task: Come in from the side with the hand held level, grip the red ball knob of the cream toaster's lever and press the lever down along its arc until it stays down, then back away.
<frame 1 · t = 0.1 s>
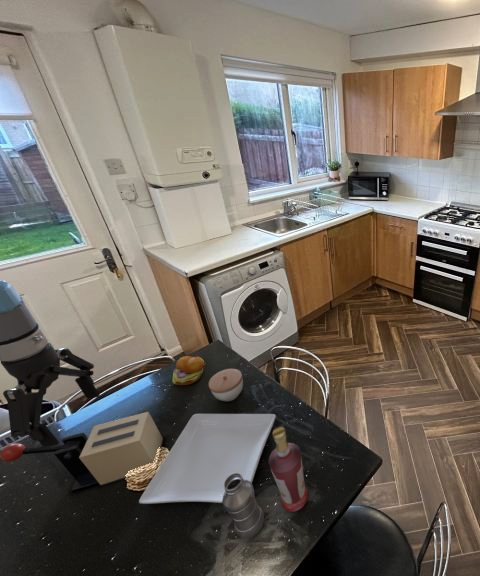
hand: (74, 418, 75), 25 cm above the table, tool pointing down, fingers open, 13 cm apart
lever bracket: (93, 473, 88), on the table
square plate: (218, 459, 92), on the table
cheeseburger: (190, 377, 121), on the table
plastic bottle: (251, 527, 77), on the table
toaster: (134, 460, 91), on the table
liquor: (295, 500, 82), on the table
trinket box: (230, 395, 113), on the table
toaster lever: (42, 449, 79), point 14 cm above the table, hinge at 20.0°
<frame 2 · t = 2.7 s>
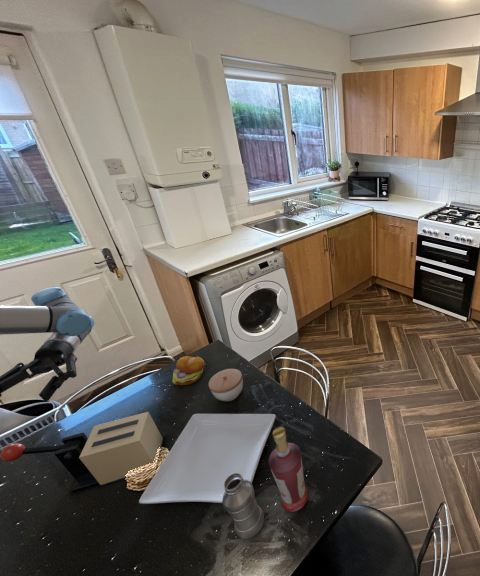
hand: (11, 405, 79), 24 cm above the table, tool horizontal, fingers open, 13 cm apart
nothing on the table moved.
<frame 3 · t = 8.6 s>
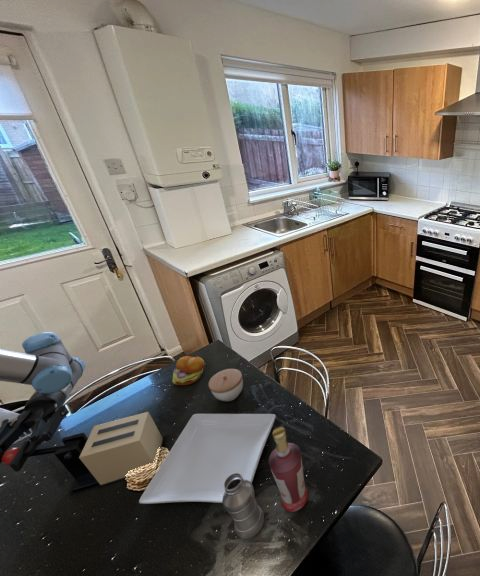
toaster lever: (42, 451, 80), point 13 cm above the table, hinge at 12.5°, touching gripper
everything else where it was.
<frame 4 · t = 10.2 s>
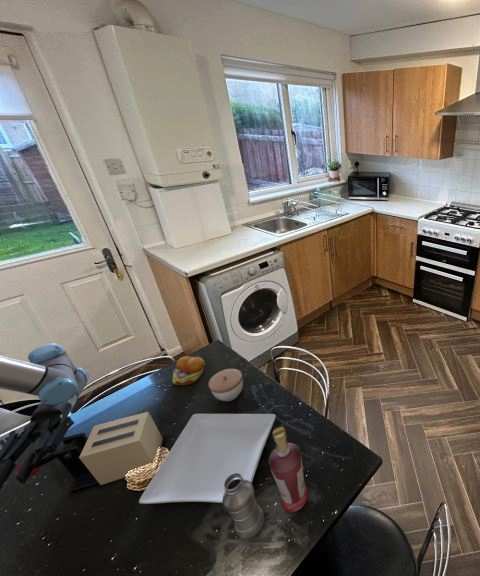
hand: (7, 483, 75), 11 cm above the table, tool horizontal, fingers open, 4 cm apart
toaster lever: (49, 458, 81), point 10 cm above the table, hinge at -18.2°
everything else where it was.
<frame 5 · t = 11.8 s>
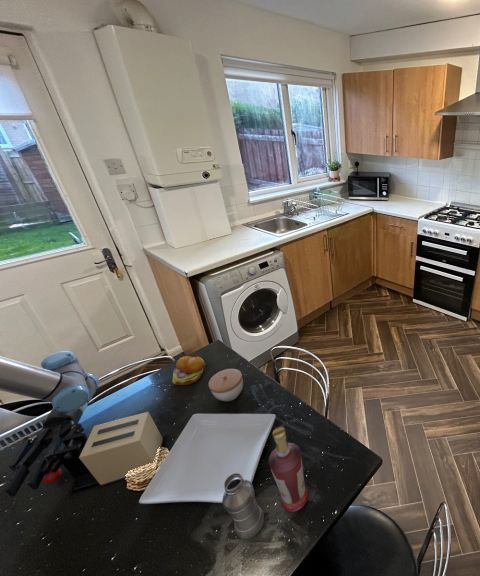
hand: (21, 489, 77), 8 cm above the table, tool horizontal, fingers open, 4 cm apart
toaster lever: (61, 461, 83), point 8 cm above the table, hinge at -45.6°, touching gripper
everything else where it was.
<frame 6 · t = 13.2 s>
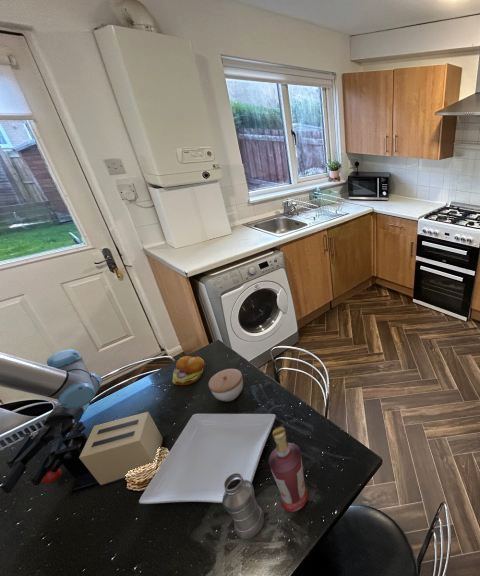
hand: (20, 485, 78), 8 cm above the table, tool horizontal, fingers open, 5 cm apart
nothing on the table moved.
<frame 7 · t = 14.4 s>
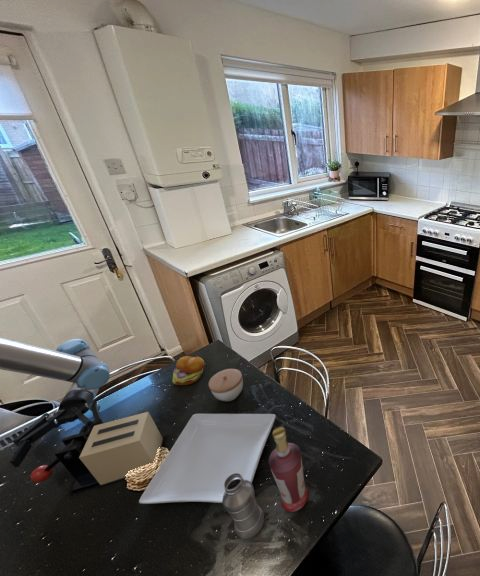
hand: (46, 455, 86), 7 cm above the table, tool horizontal, fingers open, 13 cm apart
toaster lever: (56, 461, 82), point 9 cm above the table, hinge at -35.4°
everything else where it was.
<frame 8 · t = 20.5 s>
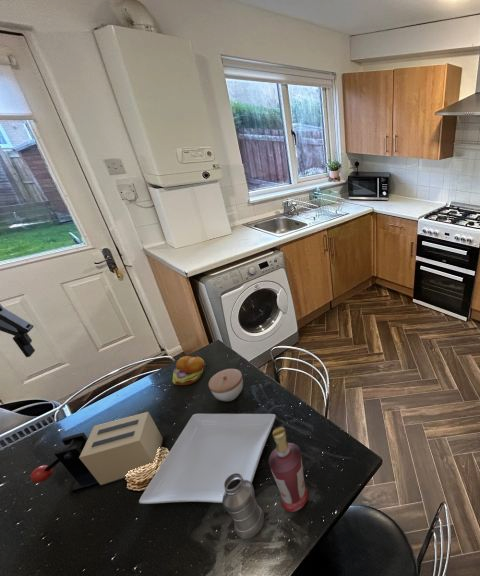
nothing on the table moved.
at the end: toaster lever at -35° (first picture: +20°) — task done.
